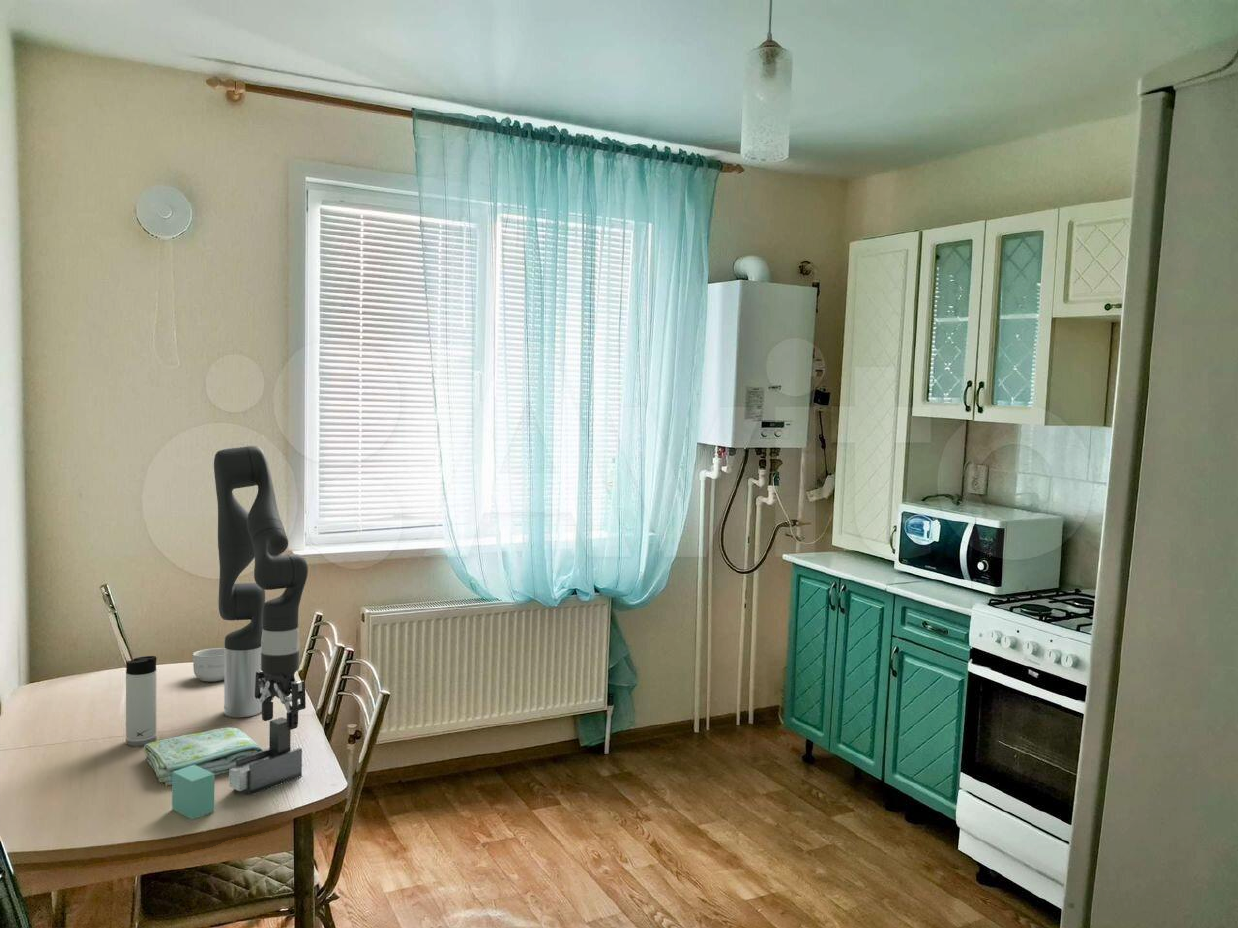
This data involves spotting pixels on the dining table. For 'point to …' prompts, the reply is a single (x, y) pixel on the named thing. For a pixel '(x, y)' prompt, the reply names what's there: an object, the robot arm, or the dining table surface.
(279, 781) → the sleeve
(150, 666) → the travel mug
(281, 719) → the inner bar
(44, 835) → the dining table surface
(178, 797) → the socket block
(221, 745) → the towel
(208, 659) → the teacup
